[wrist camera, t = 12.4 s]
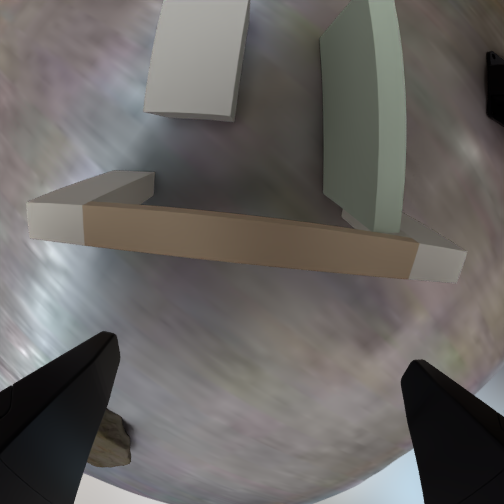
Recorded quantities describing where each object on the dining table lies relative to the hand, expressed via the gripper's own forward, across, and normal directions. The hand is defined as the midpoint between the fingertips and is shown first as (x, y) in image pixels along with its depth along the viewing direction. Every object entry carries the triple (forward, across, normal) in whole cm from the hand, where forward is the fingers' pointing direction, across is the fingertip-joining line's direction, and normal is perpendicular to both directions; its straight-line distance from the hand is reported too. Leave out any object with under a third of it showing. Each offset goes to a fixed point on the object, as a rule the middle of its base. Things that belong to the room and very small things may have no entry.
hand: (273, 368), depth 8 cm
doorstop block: (+12, +5, -10) cm, 16 cm away
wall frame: (+12, +1, -2) cm, 12 cm away
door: (+12, -4, -8) cm, 15 cm away
